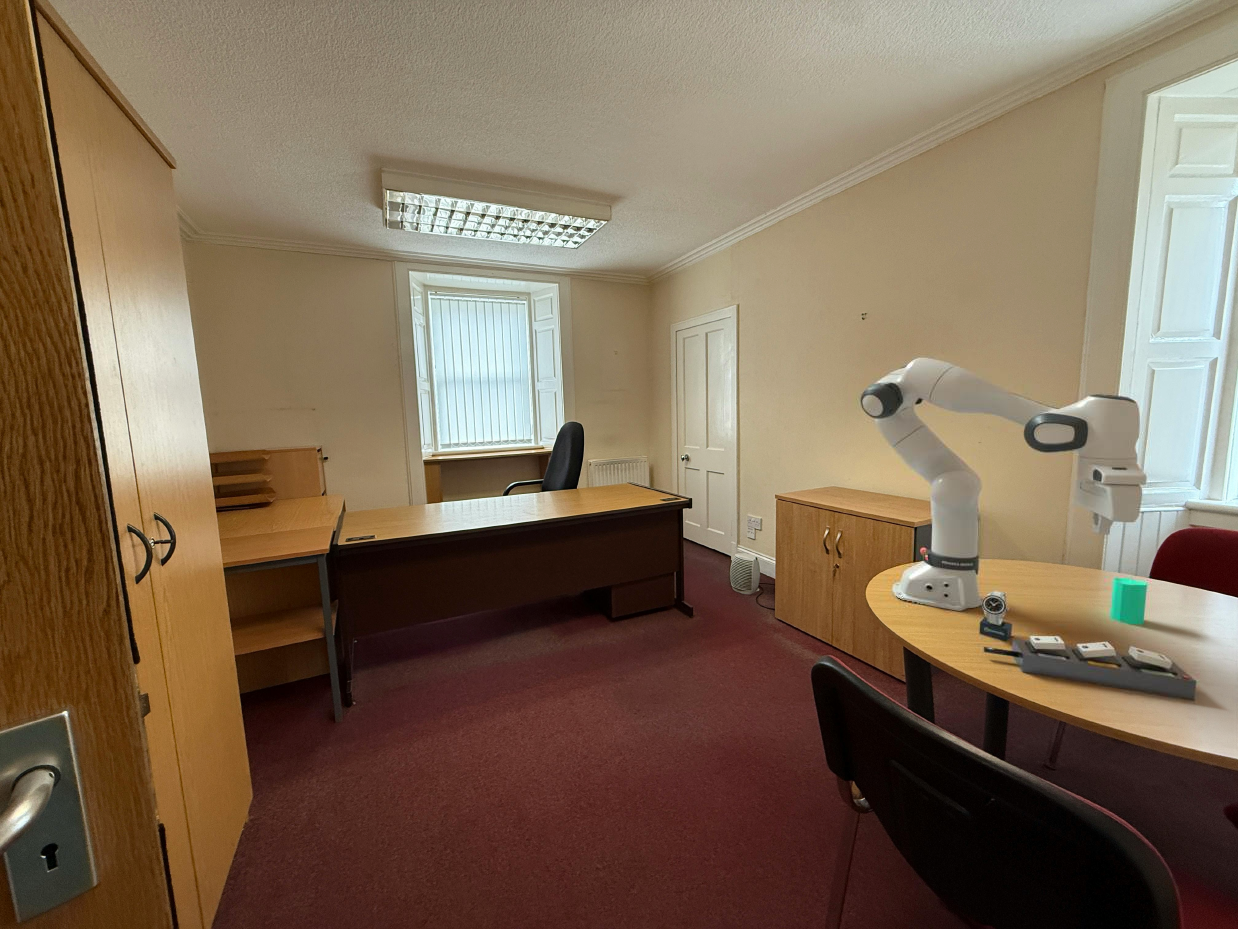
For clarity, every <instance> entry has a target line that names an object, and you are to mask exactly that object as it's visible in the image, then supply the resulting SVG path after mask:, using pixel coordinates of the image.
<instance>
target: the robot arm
mask: <svg viewBox="0 0 1238 929" xmlns="http://www.w3.org/2000/svg"><path fill="white" fill-rule="evenodd" d="M859 401H860V405H861V408H862V410H863V411H864V413H866V415H867V416H869V417H871V418H873V419H875V425H876V427H877V429H878V431H879V433H880V434H881V435H882V437H883V438H884V440H885V441H886V442H887V443H888V445H889V446H890V447H891V448H892V449H893V450H894V452H895V453H896V454H897V455H898V457H900V458H901V460H902V461H904V463H906V465H907V466H908V467H909V468H910V469H911V470H913V471H914V472H915V473H917V475H919V476H920V477H921V478H923V480H925V481H926V482H927V483H928V484H929V485H931V486H930V512H931V515H930V516H931V526H932V529H931V547H930V549H927V547H926V548H925V547H921V548H920V554H921V556H922V561H920V562H918V563H916V564H914V565H913V566H911V567H908V568H906V569H905V570H904V572H902V576H901V578H900V581H897V582H895V583H894V584H892V589H891V590H892V591H893V592H892V594H893V593H894V594H893V596H894V595H895V596H894V597H896V596H897V597H898V598H900V599H902V600H901V601H903V600H907V601H906V602H908V601H912V602H911V603H914V602H917V603H916V604H919V603H920V604H921V605H924V604H925V606H932V607H936V608H941V609H947V610H951V611H956V612H957V611H959V612H961V611H964V610H966V609H972V608H977V607H981V606H982V599H981V596H980V590H979V584H978V574H979V571H980V570H979V569H980V558H979V557H980V556H979V554H978V546H979V545H978V542H979V521H978V520H979V497H980V493H981V492H982V487H983V484H982V480H981V477H980V476H979V475H978V473H976V472H975V471H974V469H972V468H971V466H970V465H968V464H967V463H966V462H965V461H964V460H963V459H962V458H961V457H959V455H957V454H956V453H955V452H954V451H952V449H950V448H949V447H948V446H947V445H946V444H945V443H944V442H943V441H942V440H941V439H940V438H939V437H938V436H937V435H936V433H935V432H933V431H932V429H930V427H928V425H926V423H925V422H924V421H923V420H922V419H921V418H920V417H919V416H918V415H917V413H916V412H915V405H920V404H922V402H923V401H926V402H927V403H930V404H931V405H934V406H936V407H938V408H940V409H944V410H948V411H950V412H956V413H962V414H982V415H983V414H984V415H985V414H986V415H992V416H996V417H1001V418H1004V419H1006V420H1008V421H1011V422H1014V423H1017V425H1022V426H1023V427H1024V429H1023V438H1024V440H1025V442H1026V444H1027V445H1028V446H1029V447H1030V448H1031V449H1033V450H1035V451H1038V452H1041V453H1045V454H1059V453H1066V452H1076V453H1078V454H1077V455H1078V456H1077V470H1076V471H1077V472H1076V477H1077V478H1076V482H1075V490H1074V496H1073V497H1074V504H1076V505H1078V506H1081V507H1082V508H1083V509H1084V508H1085V509H1087V510H1089V511H1090V516H1091V521H1092V531H1093V532H1095V533H1097V534H1098V535H1101V536H1109V535H1110V532H1111V528H1112V525H1113V523H1114V522H1115V523H1116V522H1117V523H1118V522H1119V523H1135V522H1136V521H1137V520H1138V518H1139V516H1140V513H1141V512H1140V511H1141V507H1142V499H1143V488H1142V486H1145V485H1146V484H1147V479H1148V478H1147V474H1146V473H1145V472H1144V471H1143V470H1141V468H1140V467H1139V465H1138V454H1137V450H1136V449H1137V448H1136V445H1137V442H1138V440H1139V438H1140V429H1141V416H1140V407H1139V405H1138V403H1137V402H1136V401H1135V400H1134V399H1132V398H1130V397H1128V396H1122V395H1115V394H1114V395H1113V394H1102V393H1098V394H1090V395H1087V396H1086V397H1085V398H1083V399H1082V400H1081V399H1080V400H1079V401H1076V402H1075V403H1072V404H1069V405H1066V406H1064V407H1061V408H1059V407H1054V406H1049V405H1048V404H1047V405H1046V404H1044V403H1042V402H1040V401H1035V400H1034V399H1031V398H1027V397H1024V396H1022V395H1019V394H1016V393H1014V392H1011V391H1009V390H1007V389H1004V388H1003V387H1001V386H999V385H997V384H995V383H993V382H991V381H989V380H987V379H985V378H984V377H982V376H981V375H978V374H977V373H974V372H973V371H971V370H968V369H966V368H963V367H961V366H958V365H955V364H953V363H951V362H947V361H943V360H940V359H935V358H931V357H930V358H929V357H918V358H915V359H912V360H911V361H910V362H909V363H907V365H903V366H901V367H900V368H898V369H895V370H893V371H892V372H890V373H888V374H886V375H884V376H883V377H882V378H881V379H879V380H878V381H876V382H874V383H873V384H871V385H868V387H867V388H865V390H864V391H863V392H862V393H861V396H860V400H859ZM897 597H896V598H897ZM898 598H897V599H898ZM900 599H899V600H900Z"/></svg>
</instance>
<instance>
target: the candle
mask: <svg viewBox="0 0 1238 929" xmlns="http://www.w3.org/2000/svg"><path fill="white" fill-rule="evenodd" d="M1131 577H1132V575H1131V574H1130V576H1129V577H1114V578H1113V579H1112V580H1113V582H1112V592H1111V601H1110V602H1111V603H1110V615H1109V616H1110V618H1111V619H1113V620H1114V621H1117V622H1120V623H1124V624H1127V625H1134V626H1135V625H1137V626H1138V625H1139V626H1140V625H1144V623H1145V611H1146V599H1147V590H1148V583H1147V582H1145V581H1141V580H1135V579H1132V578H1131Z"/></svg>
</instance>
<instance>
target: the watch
mask: <svg viewBox="0 0 1238 929" xmlns="http://www.w3.org/2000/svg"><path fill="white" fill-rule="evenodd" d="M981 601H982V604H981V607H982V610H983V613H984V617H983V618H982V619H981V620H980V622H979V633H978V634H980V635H983V636H986V637H990V638H994V639H997V640H1001V641H1004V642H1007V641H1009V639H1010V638H1011V637H1012V634H1013V633H1012V632H1013V631H1012V629H1013V623H1011V622H1008V621H1007V622H1006V621H1003V620H1004V619H1005V616H1006V612H1007V611H1010V607H1009V606H1008V605H1007V595H1006V593H1005V592H1000V591H997V590H992V591H991V592H989V593H988V594H987V595H985V597H983V599H981Z"/></svg>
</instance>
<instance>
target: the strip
mask: <svg viewBox="0 0 1238 929" xmlns="http://www.w3.org/2000/svg"><path fill="white" fill-rule="evenodd" d="M1011 643H1012V646H1011V650H1007V649H1002V648H996V647H990V646H989V647H988V646H983V653H986V654H987V653H988V654H993V655H1001V656H1005V657H1013V659H1014V661H1015V662H1016V664H1017V666H1018V668H1019V669H1020V671H1021V672H1022V673H1026V674H1032V675H1038V676H1044V677H1049V678H1050V677H1051V678H1054V679H1055V678H1056V679H1062V680H1069V681H1075V682H1079V683H1085V684H1091V685H1099V686H1103V687H1109V688H1110V687H1111V688H1115V689H1121V690H1127V691H1134V692H1139V693H1145V694H1152V695H1157V696H1162V697H1163V696H1164V697H1170V698H1176V699H1181V700H1187V701H1193V702H1194V701H1195V697H1196V696H1195V695H1196V688H1197V681H1196V679H1194V678H1193V677H1192V676H1191V675H1190V674H1188V672H1186V671H1185V670H1183V668H1181V667H1180V666H1179V665H1178V664H1176V663H1175V662H1174V661H1173V660H1170V661H1171V662H1172V665H1171V668H1170V669H1169V668H1165V667H1161V666H1158V665H1154V664H1150V663H1147V662H1143V661H1139V660H1136V659H1135V658H1134V657H1133V656H1132V655H1131V654H1126V653H1118V652H1116V655H1113V656H1100V657H1086V658H1085V657H1084V656H1083V655H1082V653H1081V652H1080V651H1079V649H1078V646H1070V645H1065V649H1035V648H1034V646H1033V645H1032V643H1031V641H1030V639H1021V638H1014V637H1012V642H1011Z"/></svg>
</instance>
